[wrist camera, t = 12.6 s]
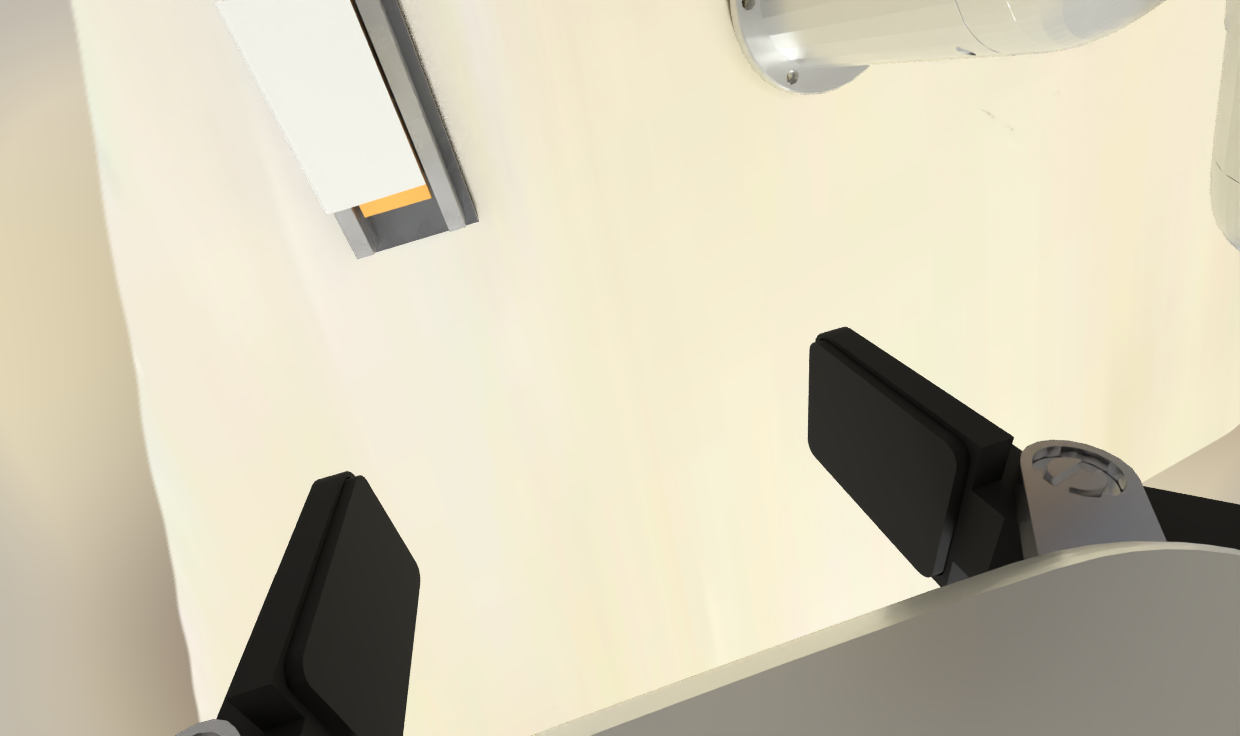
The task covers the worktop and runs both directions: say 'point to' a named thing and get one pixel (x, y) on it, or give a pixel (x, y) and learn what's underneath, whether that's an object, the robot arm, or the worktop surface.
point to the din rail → (426, 137)
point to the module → (325, 97)
